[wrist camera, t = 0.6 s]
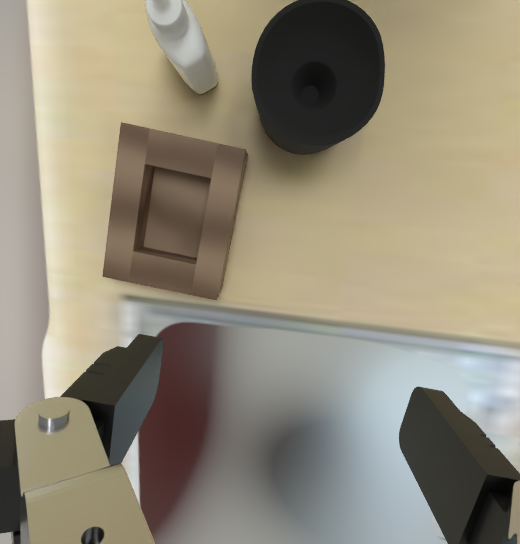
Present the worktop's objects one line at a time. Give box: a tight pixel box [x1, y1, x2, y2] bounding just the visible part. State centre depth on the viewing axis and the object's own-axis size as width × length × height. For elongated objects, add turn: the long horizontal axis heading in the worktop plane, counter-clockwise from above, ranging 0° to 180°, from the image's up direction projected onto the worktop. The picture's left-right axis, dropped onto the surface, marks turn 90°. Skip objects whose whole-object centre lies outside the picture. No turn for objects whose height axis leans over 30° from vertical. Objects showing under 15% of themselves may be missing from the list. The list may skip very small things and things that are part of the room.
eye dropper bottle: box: [145, 0, 218, 94], centre depth 28 cm, size 4×6×12 cm
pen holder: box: [252, 0, 385, 154], centre depth 29 cm, size 9×9×10 cm
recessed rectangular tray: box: [103, 122, 248, 300], centre depth 35 cm, size 14×11×4 cm
